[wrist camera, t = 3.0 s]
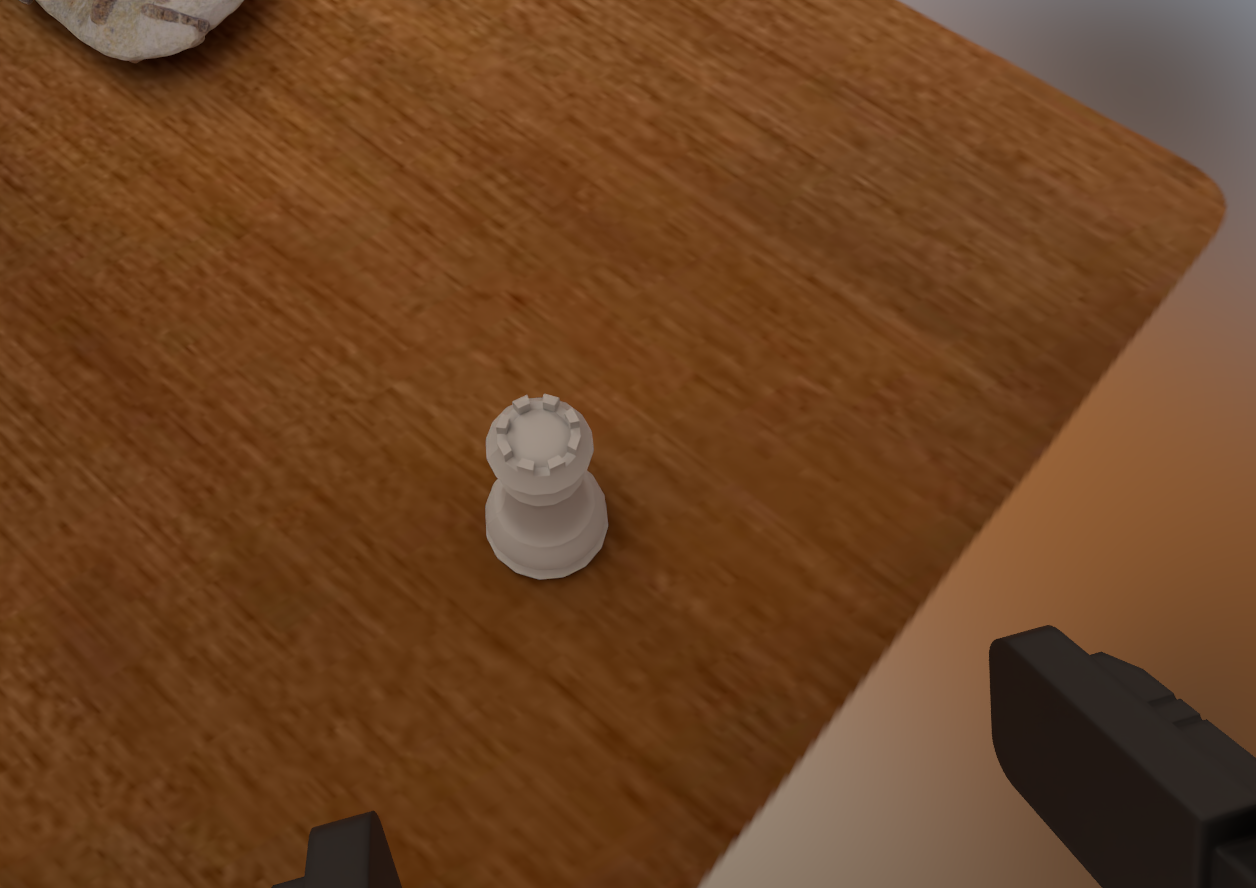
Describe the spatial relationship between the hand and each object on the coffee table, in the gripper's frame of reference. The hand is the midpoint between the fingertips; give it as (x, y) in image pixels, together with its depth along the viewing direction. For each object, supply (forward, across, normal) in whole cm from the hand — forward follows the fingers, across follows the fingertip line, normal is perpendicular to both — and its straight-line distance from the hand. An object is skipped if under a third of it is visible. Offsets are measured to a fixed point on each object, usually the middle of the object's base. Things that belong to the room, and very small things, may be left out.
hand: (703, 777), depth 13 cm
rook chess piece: (+24, 0, +7) cm, 25 cm away
